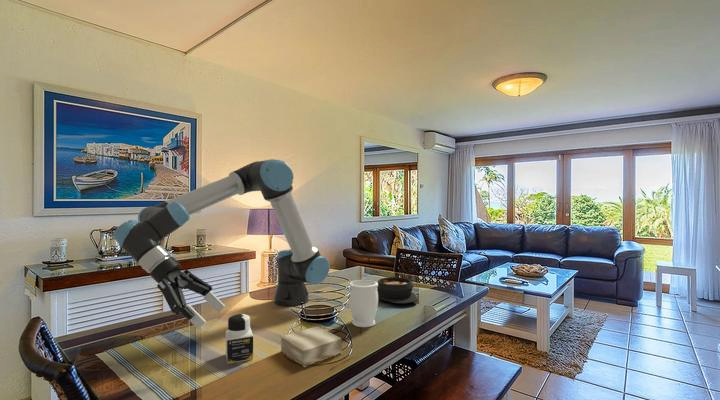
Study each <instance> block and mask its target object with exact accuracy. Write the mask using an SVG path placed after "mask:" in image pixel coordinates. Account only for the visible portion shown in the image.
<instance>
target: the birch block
mask: <svg viewBox="0 0 720 400" xmlns="http://www.w3.org/2000/svg"><path fill="white" fill-rule="evenodd" d="M342 341H343V340H342V338H341V337H340V336H337V335H336V334H334V333H331V332H329V331H328V330H326V329H323V328H322V327H320V326H317V325H316V326H313V327H310V328H306V329H303V330H298V331H296V332H292V333H290V334H285V335H282V336H280V344H281V345H280V348H281V349H280V350H281V351H280V352H281V353H282V352H283V353H282V354H284V355H285V354H286V355H288V356H289V357H291V358H292V359H294V360H295V361H297V362H298V363H300V364H301V365H303V366H305V365H308V364H311V363H313V362H315V361H318V360H321V359H324V358H327V357H330V356H333V355H336V354H339V353H342V352H343V351H342ZM286 355H285V356H286ZM288 356H287V357H288ZM289 357H288V358H289ZM291 358H290V359H291ZM292 359H291V360H292ZM295 361H294V362H295ZM298 363H297V364H298Z"/></svg>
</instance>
